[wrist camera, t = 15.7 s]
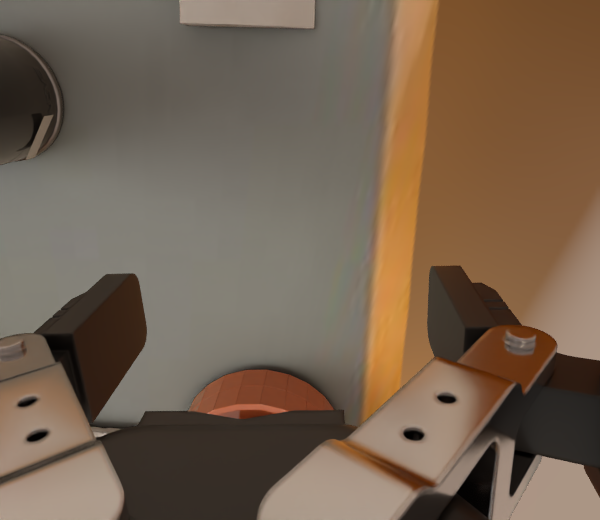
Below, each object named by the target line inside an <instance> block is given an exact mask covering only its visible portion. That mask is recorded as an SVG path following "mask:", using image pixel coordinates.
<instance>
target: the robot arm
mask: <svg viewBox="0 0 600 520" xmlns="http://www.w3.org/2000/svg"><path fill="white" fill-rule="evenodd" d="M62 120H63V100H62V95H61V90H60V88H59V85H58V82H57V80H56V78H55V76H54V74H53V72H52V71H51V69H50V68H49V66H48V65H47V63H46V62H45V61H44V60H43V59H42V58H41V57H40V56H39V55H38V54H37V53H36V52H35V51H34V50H33V49H31V48H30V47H29V46H27V45H26V44H24V43H22V42H20V41H18V40H16V39H14V38H11V37H8V36H4V35H0V165H3V164H7V163H10V162H13V161H21V160H25V159H26V160H28V159H31V158H34V157H35V156H37V155H39V154H41V153H42V152H44V151H45V150H46V149H48V148H49V147H50V146H51V144H52V143H53V142H54V141H55V139H56V137H57V135H58V133H59V131H60V128H61V125H62ZM427 324H428V337H429V342H430V345H431V348H432V351H433V354H434V356H435V357H434V358H433V359H432V360H431V361H430V362H429V363H427V365H425V366H424V367H423V368H422V369H421V370H420V371H419V372H418V373H417V374H416V375H415V376H413V377H412V378H411V379H410V380H409V381H408V382H407V383H406V384H405V385H404V386H403V387H402V388H400V389H399V390H398V391H397V392H396V393H395V394H394V395H393V396H392V397H391V398H390V399H389V400H388V401H386V402H385V403H384V404H383V405H382V406H381V407H380V408H379V409H378V410H377V411H376V412H375V413H373V414H372V415H371V416H370V417H369V418H368V419H367V420H366V421H365V422H364V423H363V424H362V425H361V426H359V427H355V426H352V425H347V424H344V410H293V411H288V412H282V413H276V414H270V415H264V416H259V417H253V418H247V419H236V418H230V417H224V416H219V415H213V414H207V413H201V412H196V411H146V412H145V413H144V415H143V417H142V419H141V421H140V423H139V425H137V426H132V427H128V428H124V429H120V430H117V431H114V432H111V433H108V434H106V435H103V436H101V437H99V438H95V435H94V433H93V431H92V429H91V427H90V425H89V423H93V422H94V420H95V419H96V417H97V416H98V414H99V413H100V411H101V410H102V408H103V407H104V405H105V404H106V402H107V401H108V399H109V398H110V397H111V395H112V394H113V392H114V391H115V389H116V388H117V386H118V385H119V383H120V382H121V380H122V379H123V377H124V376H125V374H126V373H127V371H128V370H129V368H130V367H131V365H132V364H133V362H134V361H135V359H136V358H137V356H138V355H139V353H140V352H141V350H142V349H143V347H144V345H145V342H146V336H147V327H146V320H145V314H144V308H143V303H142V297H141V291H140V285H139V281H138V278H137V276H136V275H135V274H133V273H132V274H106V275H105V276H104V277H102V278H101V279H100V280H99V281H98V282H97V283H96V284H95V285H94V286H93V287H92V288H90V289H89V290H88V291H87V292H85V293H83V294H81V295H79V296H77V297H75V298H73V299H71V300H70V301H69V302H68V303H67V304H66V305H64V306H63V307H62V308H61V310H59V311H58V312H57V313H55V314H54V315H53V318H50V319H49V320H48V321H46V322H45V323H44V324H43V325H42V326H41V327H40V328H39V329H37V330H36V331H35V332H34V333H24V334H16V335H12V336H8V337H4V338H1V339H0V520H510V517H511V515H512V513H513V511H514V509H515V508H516V506H517V504H518V502H519V500H520V499H521V497H522V495H523V493H524V491H525V490H526V488H527V486H528V484H529V482H530V480H531V479H532V477H533V475H534V473H535V471H536V470H537V468H538V466H539V464H540V462H541V459H542V456H545V457H549V458H554V459H559V460H563V461H568V462H572V463H578V464H582V465H584V469H585V471H586V474H587V475H588V477H589V479H590V481H591V483H592V484H593V486H594V488H595V490H596V492H597V493H598V495H599V497H600V361H599V360H591V359H585V358H578V357H572V356H567V355H563V354H560V353H557V343H556V341H555V339H554V338H552V337H551V336H550V335H548V334H547V333H545V332H543V331H540V330H538V329H535V328H532V327H527V326H522V325H521V323H520V322H519V321H518V319H517V318H516V317H515V315H514V314H513V313H512V312H511V310H510V309H508V306H507V305H506V303H505V302H503V300H502V298H501V297H500V296H499V294H498V293H497V292H496V291H495V290H494V289H492V288H490V287H488V286H486V285H485V284H483V283H472V282H471V281H470V279H469V278H468V276H467V275H466V273H465V272H464V271H463V269H462V267H461V266H432V267H431V269H430V275H429V295H428V321H427Z"/></svg>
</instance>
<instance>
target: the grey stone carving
mask: <svg viewBox="0 0 600 520" xmlns="http://www.w3.org/2000/svg"><path fill="white" fill-rule="evenodd" d="M179 3H180V23H181V24H184V25H187V26H224V27H262V28H301V29H314V22H315V0H179Z"/></svg>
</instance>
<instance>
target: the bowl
mask: <svg viewBox="0 0 600 520" xmlns="http://www.w3.org/2000/svg"><path fill="white" fill-rule="evenodd" d="M293 410H334V409H333V407H332V406H331V405H330V403H329V402H328V401H327V399H326V398H325V397H324V396H323V395H322V394H321V393H320V392H318V391H317V390H316V389H315V388H313V387H312V386H311V385H310V384H308V383H306V382H304V381H302V380H300V379H298V378H296V377H294V376H291V375H288V374H285V373H281V372H276V371H271V370H243V371H239V372H235V373H232V374H228V375H225V376H223V377H221V378H219V379H217V380H215V381H214V382H212V383H210V384H208V385H207V386H206V387H205V388H204V389H203V390H202V391H201V392H200V393H199V394H198V395H197V396H196V397H195V398H194V400H193V402H192V404H191V406H190V408H189V410H188V411H196V412H201V413H207V414H213V415H219V416H224V417H230V418H236V419H247V418H253V417H259V416H264V415H270V414H276V413H282V412H288V411H293Z"/></svg>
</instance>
